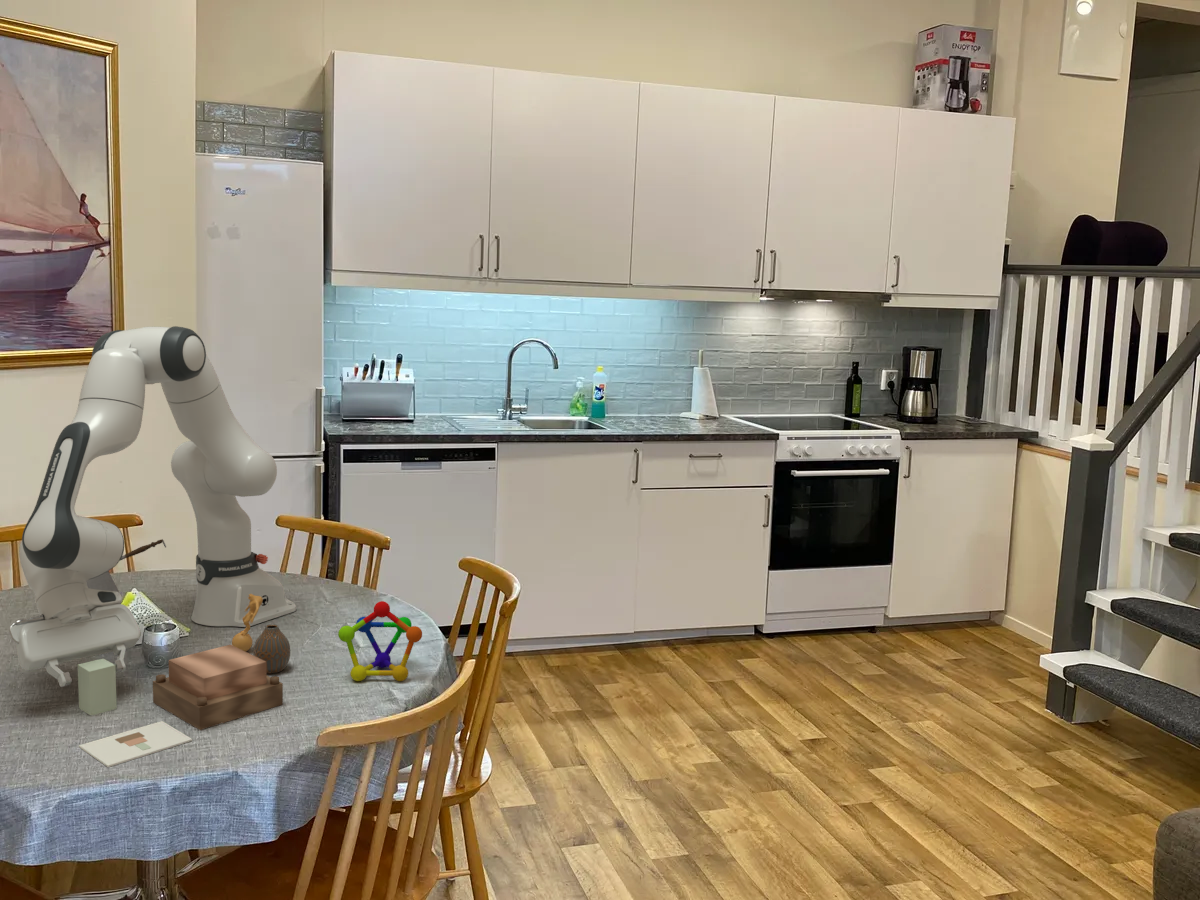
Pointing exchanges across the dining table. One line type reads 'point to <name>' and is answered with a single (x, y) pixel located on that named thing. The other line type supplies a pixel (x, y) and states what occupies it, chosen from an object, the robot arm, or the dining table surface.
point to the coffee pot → (105, 579)
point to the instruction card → (135, 743)
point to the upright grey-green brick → (97, 686)
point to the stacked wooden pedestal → (216, 687)
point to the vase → (272, 649)
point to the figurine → (247, 624)
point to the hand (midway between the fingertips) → (94, 677)
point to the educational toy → (382, 657)
